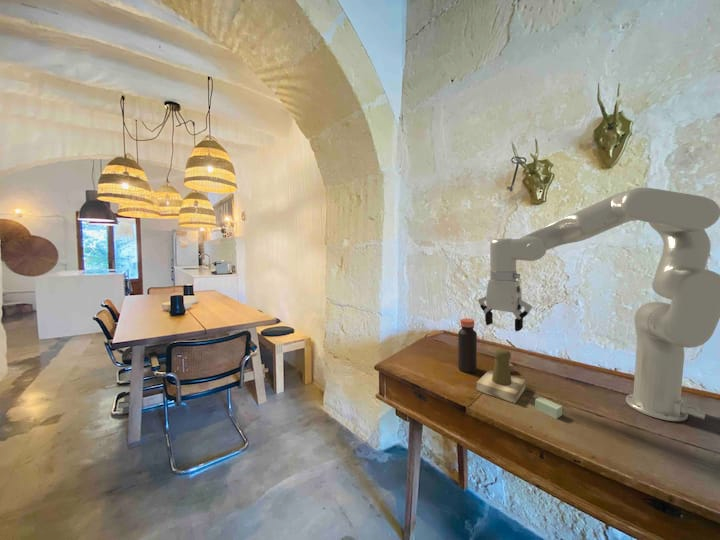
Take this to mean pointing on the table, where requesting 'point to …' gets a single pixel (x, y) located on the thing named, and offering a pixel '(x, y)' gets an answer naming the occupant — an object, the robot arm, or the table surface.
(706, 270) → the robot arm
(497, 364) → the cork
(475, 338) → the bottle
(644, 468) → the table surface
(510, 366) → the walnut brick
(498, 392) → the beech board
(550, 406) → the sage brick
